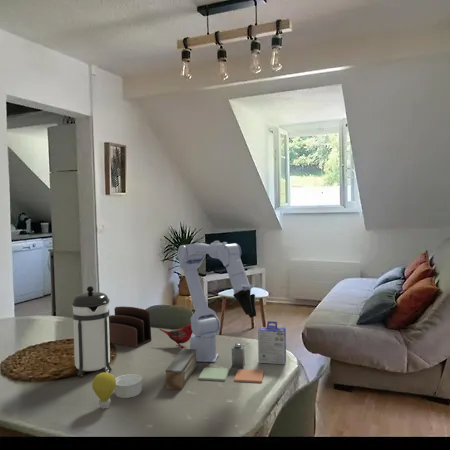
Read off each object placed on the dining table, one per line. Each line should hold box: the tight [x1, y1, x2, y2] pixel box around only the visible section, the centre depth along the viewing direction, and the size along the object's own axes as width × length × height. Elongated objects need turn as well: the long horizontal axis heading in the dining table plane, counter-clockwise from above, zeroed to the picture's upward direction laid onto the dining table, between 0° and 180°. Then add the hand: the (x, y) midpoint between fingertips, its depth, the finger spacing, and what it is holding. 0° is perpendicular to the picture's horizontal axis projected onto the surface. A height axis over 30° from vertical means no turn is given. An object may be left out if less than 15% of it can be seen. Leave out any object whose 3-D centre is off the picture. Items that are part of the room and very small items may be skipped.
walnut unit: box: [164, 348, 197, 391], centre depth 145 cm, size 6×20×6 cm, turn 170°
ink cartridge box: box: [257, 320, 287, 365], centre depth 158 cm, size 10×6×14 cm, turn 78°
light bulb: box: [91, 371, 116, 409], centre depth 124 cm, size 7×7×10 cm
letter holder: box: [109, 306, 152, 348], centre depth 185 cm, size 10×20×14 cm, turn 62°
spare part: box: [231, 342, 246, 369], centre depth 154 cm, size 4×4×8 cm
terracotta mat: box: [233, 368, 265, 384], centre depth 144 cm, size 9×9×1 cm
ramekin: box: [114, 373, 143, 399], centre depth 134 cm, size 9×9×4 cm
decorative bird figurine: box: [159, 323, 193, 349], centre depth 176 cm, size 3×18×10 cm, turn 61°
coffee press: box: [71, 285, 112, 378], centre depth 153 cm, size 17×16×30 cm
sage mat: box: [197, 367, 230, 382], centre depth 146 cm, size 9×9×1 cm
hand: (251, 315), depth 139 cm, fingers open, 7 cm apart
